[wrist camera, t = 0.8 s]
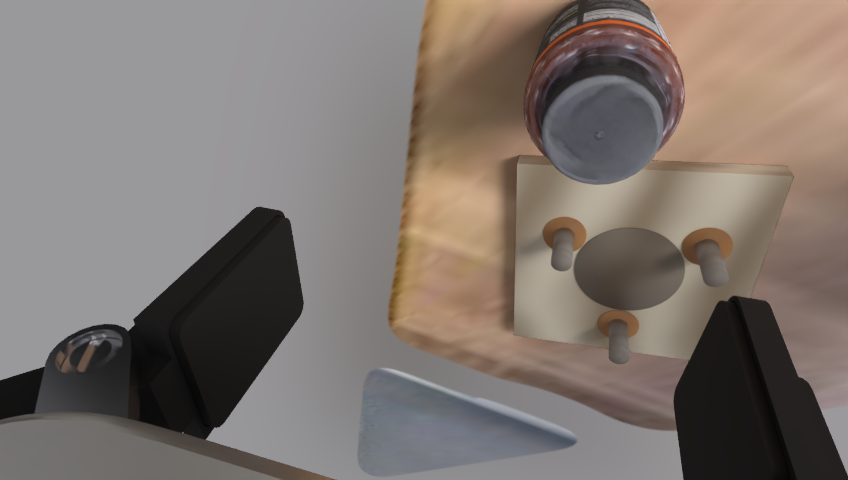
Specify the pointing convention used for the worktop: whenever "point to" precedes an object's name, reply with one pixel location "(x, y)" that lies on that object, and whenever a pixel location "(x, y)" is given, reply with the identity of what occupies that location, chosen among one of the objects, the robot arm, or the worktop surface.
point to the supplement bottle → (603, 91)
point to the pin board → (639, 252)
